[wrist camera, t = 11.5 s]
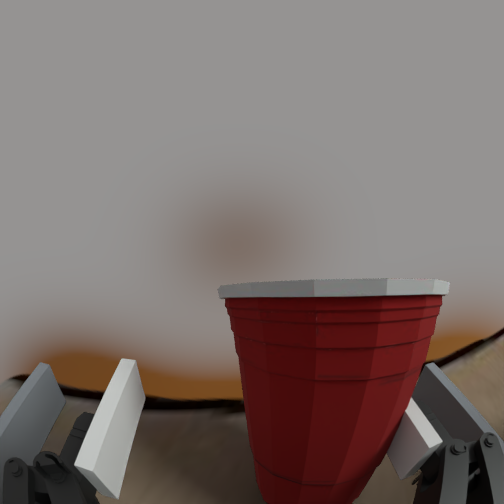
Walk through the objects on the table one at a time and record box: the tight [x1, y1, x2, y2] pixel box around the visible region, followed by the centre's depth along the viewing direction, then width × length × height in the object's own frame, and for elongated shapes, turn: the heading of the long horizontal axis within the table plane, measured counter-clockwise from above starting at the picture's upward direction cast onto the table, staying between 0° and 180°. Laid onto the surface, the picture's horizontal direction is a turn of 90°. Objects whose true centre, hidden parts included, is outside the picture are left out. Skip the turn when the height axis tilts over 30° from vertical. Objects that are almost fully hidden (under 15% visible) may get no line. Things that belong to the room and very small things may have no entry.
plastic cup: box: [218, 278, 450, 504], centre depth 11 cm, size 11×11×12 cm
